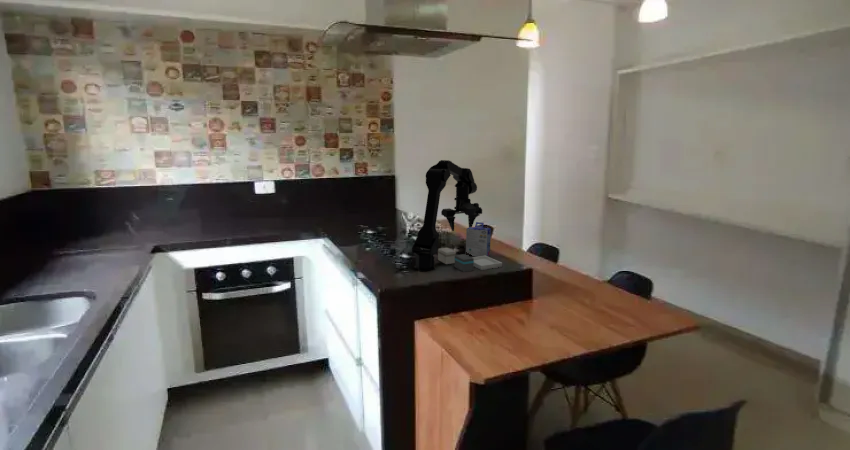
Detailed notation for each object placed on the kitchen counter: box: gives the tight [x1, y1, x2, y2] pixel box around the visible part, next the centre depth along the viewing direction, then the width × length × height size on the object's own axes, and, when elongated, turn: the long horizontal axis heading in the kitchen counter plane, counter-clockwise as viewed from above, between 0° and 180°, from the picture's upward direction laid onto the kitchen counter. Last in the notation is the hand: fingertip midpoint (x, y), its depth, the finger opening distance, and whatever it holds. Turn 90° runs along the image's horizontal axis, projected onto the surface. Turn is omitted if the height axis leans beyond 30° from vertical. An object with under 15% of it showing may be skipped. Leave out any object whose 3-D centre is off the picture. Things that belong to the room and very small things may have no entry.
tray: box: [471, 256, 503, 271], centre depth 189 cm, size 10×12×2 cm
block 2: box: [454, 253, 474, 273], centre depth 184 cm, size 5×7×5 cm, turn 26°
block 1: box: [437, 247, 457, 265], centre depth 194 cm, size 5×7×5 cm, turn 26°
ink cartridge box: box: [465, 221, 492, 257], centre depth 202 cm, size 10×6×14 cm, turn 66°
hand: (461, 229), depth 212 cm, fingers open, 9 cm apart
